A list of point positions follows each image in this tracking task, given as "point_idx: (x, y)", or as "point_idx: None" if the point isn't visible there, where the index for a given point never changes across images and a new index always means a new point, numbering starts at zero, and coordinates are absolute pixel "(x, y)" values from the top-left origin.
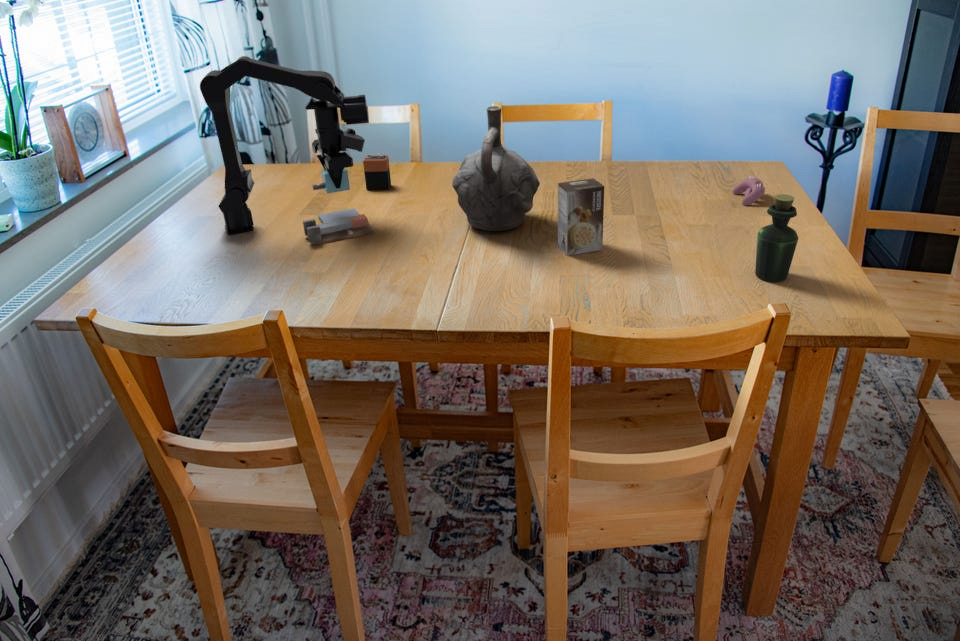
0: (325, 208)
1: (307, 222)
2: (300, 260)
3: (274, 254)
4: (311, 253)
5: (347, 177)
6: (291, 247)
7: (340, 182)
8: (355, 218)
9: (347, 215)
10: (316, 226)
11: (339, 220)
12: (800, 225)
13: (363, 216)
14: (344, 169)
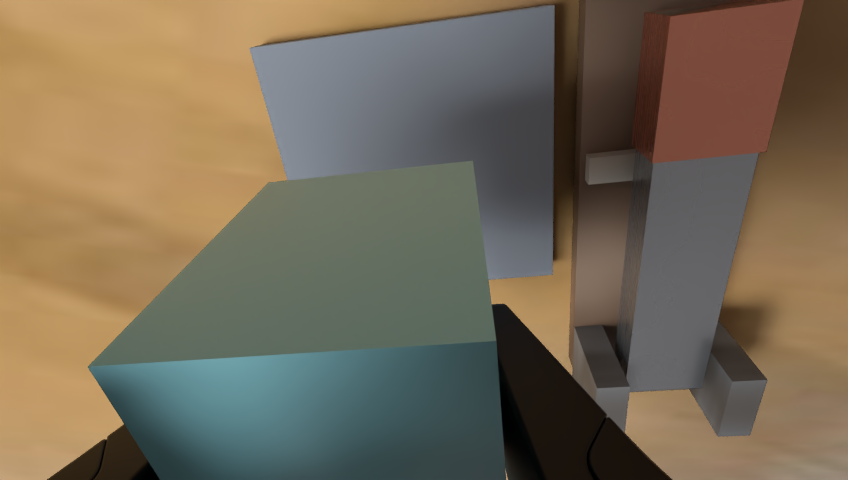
0: (170, 226)
1: (625, 420)
2: (838, 407)
3: (688, 474)
4: (797, 362)
5: (482, 264)
6: (657, 420)
7: (546, 353)
8: (721, 113)
9: (395, 124)
10: (743, 394)
11: (657, 234)
12: None
13: (731, 31)
14: (327, 382)
